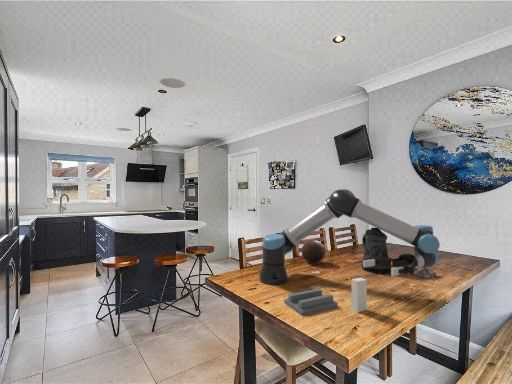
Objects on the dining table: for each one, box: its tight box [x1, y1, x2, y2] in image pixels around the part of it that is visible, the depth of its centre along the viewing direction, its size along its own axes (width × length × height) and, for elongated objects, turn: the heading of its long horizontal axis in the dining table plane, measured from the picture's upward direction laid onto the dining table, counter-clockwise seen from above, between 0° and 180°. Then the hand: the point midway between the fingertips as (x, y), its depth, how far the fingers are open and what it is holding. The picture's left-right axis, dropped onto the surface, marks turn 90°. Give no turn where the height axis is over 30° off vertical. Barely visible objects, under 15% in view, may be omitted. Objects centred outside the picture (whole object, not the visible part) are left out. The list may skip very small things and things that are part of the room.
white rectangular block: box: [350, 277, 368, 313], centre depth 105 cm, size 3×5×12 cm, turn 116°
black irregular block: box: [360, 227, 392, 275], centre depth 161 cm, size 16×19×25 cm
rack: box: [283, 288, 339, 316], centre depth 110 cm, size 12×18×4 cm, turn 116°
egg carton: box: [415, 268, 438, 279], centre depth 149 cm, size 10×7×4 cm
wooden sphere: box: [301, 239, 326, 264], centre depth 175 cm, size 15×15×15 cm
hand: (377, 268), depth 110 cm, fingers open, 13 cm apart
